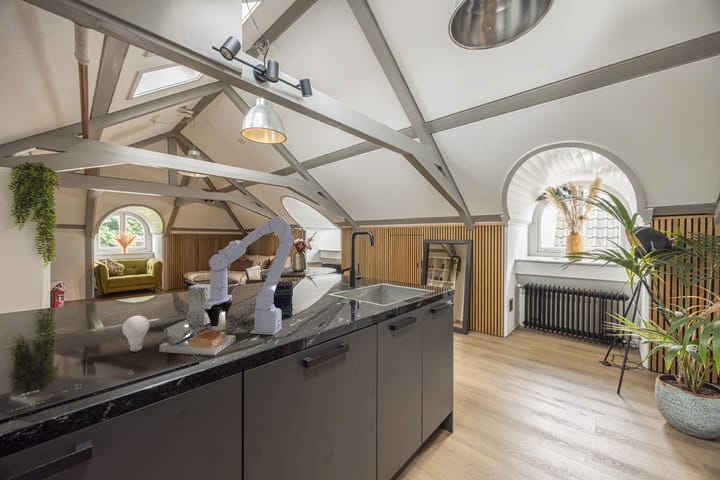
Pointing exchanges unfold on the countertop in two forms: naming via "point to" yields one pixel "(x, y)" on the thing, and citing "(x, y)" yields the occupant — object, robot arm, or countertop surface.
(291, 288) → the storage jar
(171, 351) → the white rectangular base assembly
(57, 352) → the countertop surface
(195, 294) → the circuit breaker
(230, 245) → the robot arm
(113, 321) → the countertop surface
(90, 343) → the countertop surface
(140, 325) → the light bulb
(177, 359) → the countertop surface
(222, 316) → the white bottle
